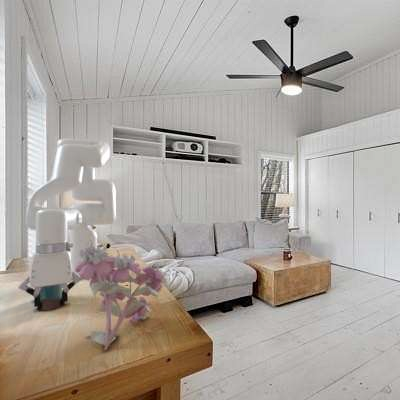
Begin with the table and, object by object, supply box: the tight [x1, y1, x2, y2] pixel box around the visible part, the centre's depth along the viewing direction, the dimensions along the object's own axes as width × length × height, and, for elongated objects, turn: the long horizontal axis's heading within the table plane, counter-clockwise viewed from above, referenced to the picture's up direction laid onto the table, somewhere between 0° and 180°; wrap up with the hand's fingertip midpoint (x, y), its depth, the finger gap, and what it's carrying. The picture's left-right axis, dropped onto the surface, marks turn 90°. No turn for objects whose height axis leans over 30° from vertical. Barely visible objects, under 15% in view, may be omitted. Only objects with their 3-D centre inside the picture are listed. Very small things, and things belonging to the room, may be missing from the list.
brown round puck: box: [39, 297, 63, 311], centre depth 92 cm, size 5×5×2 cm
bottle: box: [33, 284, 63, 300], centre depth 99 cm, size 7×7×15 cm
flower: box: [75, 243, 168, 351], centre depth 76 cm, size 20×22×25 cm
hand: (51, 305), depth 92 cm, fingers closed on brown round puck, 5 cm apart
